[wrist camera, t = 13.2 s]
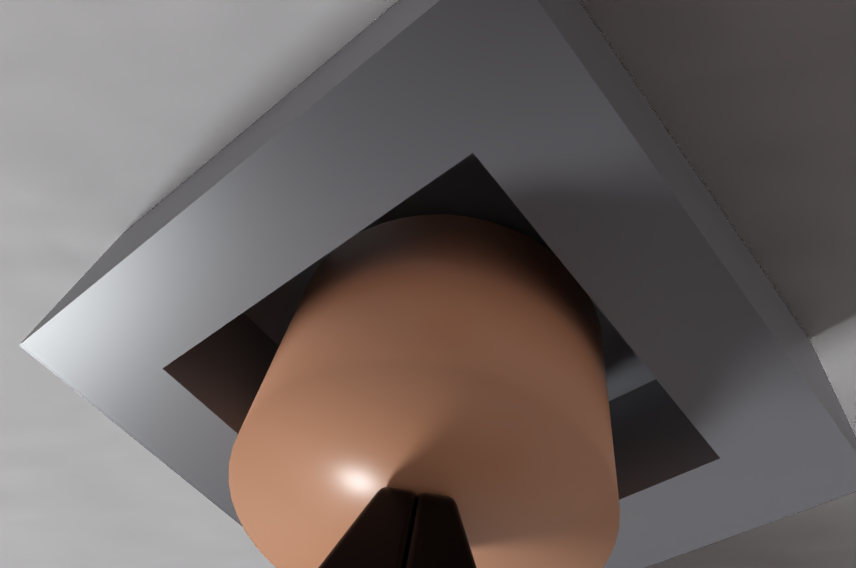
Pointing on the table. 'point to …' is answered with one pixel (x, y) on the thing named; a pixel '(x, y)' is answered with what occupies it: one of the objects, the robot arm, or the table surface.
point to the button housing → (488, 200)
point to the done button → (436, 400)
